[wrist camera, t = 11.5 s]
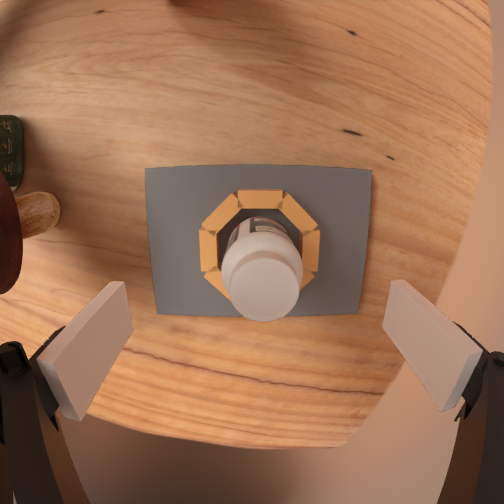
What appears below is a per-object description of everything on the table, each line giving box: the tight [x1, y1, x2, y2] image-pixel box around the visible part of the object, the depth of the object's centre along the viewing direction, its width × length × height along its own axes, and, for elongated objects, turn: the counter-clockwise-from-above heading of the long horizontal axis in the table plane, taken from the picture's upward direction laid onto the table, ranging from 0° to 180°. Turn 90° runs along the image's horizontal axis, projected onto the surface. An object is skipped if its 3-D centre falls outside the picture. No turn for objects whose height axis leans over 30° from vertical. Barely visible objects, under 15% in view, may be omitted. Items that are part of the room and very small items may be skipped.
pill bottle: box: [221, 216, 303, 322], centre depth 21 cm, size 5×5×10 cm
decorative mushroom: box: [0, 171, 60, 294], centre depth 18 cm, size 11×11×15 cm
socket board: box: [145, 164, 372, 317], centre depth 25 cm, size 14×20×3 cm
